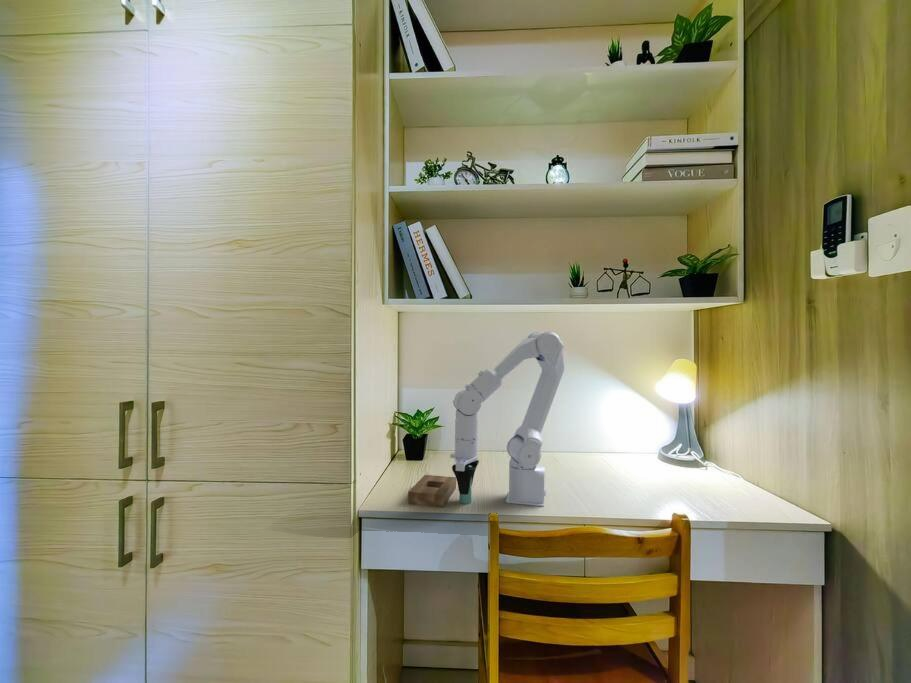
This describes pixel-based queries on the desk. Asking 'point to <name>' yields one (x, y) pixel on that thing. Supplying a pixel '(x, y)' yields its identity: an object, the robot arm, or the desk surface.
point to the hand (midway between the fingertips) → (465, 491)
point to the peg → (466, 498)
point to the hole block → (432, 490)
